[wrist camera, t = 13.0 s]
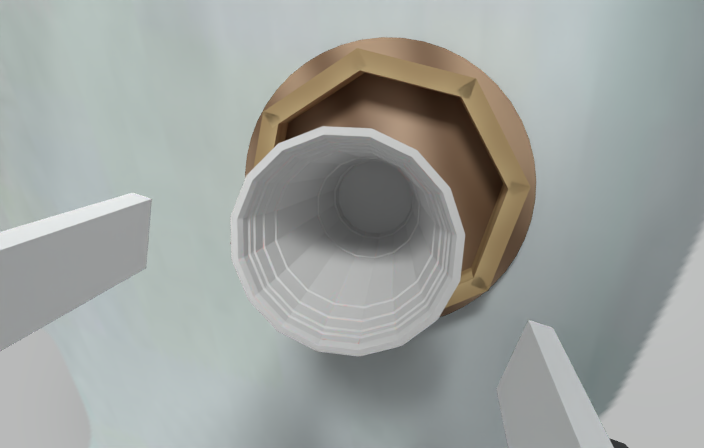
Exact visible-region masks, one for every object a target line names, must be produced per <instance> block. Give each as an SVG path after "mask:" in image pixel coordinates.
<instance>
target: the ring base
mask: <svg viewBox="0 0 704 448" xmlns="http://www.w3.org/2000/svg"><path fill="white" fill-rule="evenodd" d="M322 126H328V127H351V128H372V129H374V130H376V131H378V132H380V133H382V134H385V135H387V136H389V137H391V138H393V139H395V140H397V141H399V142H401V143H403V144H405V145H407V146H409V147H412V148H414V149H416V150H418V152H419V153H420V154H421V155H422V156H423V157H424V158H425V160H426V161H427V162H428V163H429V164H430V165H431V166H432V168H433V169H434V170H435V171H436V172H437V173H438V174H439V176H440V177H441V178H442V179H443V180H444V181H445V182H446V184H447V185H448V186H449V187H450V188H451V191H452V195H453V198H454V201H455V204H456V207H457V210H458V213H459V217H460V220H461V223H462V226H463V229H464V232H465V242H464V251H463V260H462V269H461V278H460V282H459V284H458V286H457V287H456V289H455V291H454V293H453V294H452V296H451V298H450V299H449V301H448V303H447V305H446V306H445V308H444V310H443V311H442V313H441V315H440V317H441V316H444V315H447V314H450V313H452V312H454V311H456V310H458V309H460V308H462V307H464V306H466V305H467V304H469V303H470V302H472V301H473V300H475V299H476V298H478V297H479V296H481V295H482V294H483V293H484V292H486V291H488V290H489V288H490V287H491V286H492V285H493V284H494V283H495V282H496V281H497V280H498V279H499V278H500V277H501V276H502V275H503V273H504V272H505V271H506V270H507V268H508V267H509V265H510V264H511V263H512V261H513V260H514V258H515V257H516V255H517V253H518V251H519V249H520V247H521V245H522V243H523V241H524V239H525V237H526V234H527V231H528V228H529V225H530V222H531V219H532V214H533V209H534V203H535V192H536V174H535V164H534V157H533V153H532V149H531V145H530V141H529V138H528V135H527V133H526V130H525V128H524V125H523V123H522V120H521V119H520V117H519V115H518V113H517V112H516V110H515V108H514V107H513V105H512V103H511V102H510V100H509V99H508V98H507V97H506V95H505V94H504V93H503V92H502V90H501V89H500V88H499V87H498V85H497V84H496V83H495V82H494V81H492V80H491V79H490V78H489V77H488V76H487V75H486V74H485V73H484V72H483V71H482V70H480V69H479V68H478V67H476V66H475V65H473V64H472V63H470V62H469V61H467V60H466V59H465V58H463V57H461V56H459V55H457V54H455V53H453V52H451V51H449V50H447V49H445V48H442V47H439V46H436V45H433V44H430V43H427V42H423V41H417V40H411V39H406V38H383V37H382V38H373V39H364V40H359V41H355V42H351V43H347V44H344V45H340V46H338V47H336V48H333V49H331V50H328V51H326V52H324V53H322V54H320V55H318V56H317V57H315V58H313V59H312V60H310V61H308V62H307V63H305V64H304V65H303V66H301V67H300V68H299V69H298V70H296V71H295V72H294V73H293V74H291V75H290V76H289V77H288V78H287V79H286V81H285V82H284V83H283V84H282V85H281V86H280V87H279V88H278V89H277V90H276V92H275V93H274V94H273V96H272V97H271V99H270V100H269V101H268V103H267V104H266V106H265V108H264V110H263V112H262V114H261V115H260V117H259V119H258V121H257V124H256V126H255V129H254V132H253V134H252V137H251V141H250V145H249V149H248V154H247V161H246V171H245V178H246V175H247V174H248V173H249V172H250V171H251V170H252V169H253V168H254V167H255V166H256V165H257V164H258V163H259V162H260V161H261V160H262V159H263V158H264V157H265V156H266V155H267V154H268V153H269V152H270V151H271V150H272V149H273V148H274V147H275V146H276V145H277V144H278V143H281V142H283V141H286V140H288V139H291V138H294V137H296V136H299V135H301V134H304V133H306V132H309V131H312V130H314V129H317V128H319V127H322Z"/></svg>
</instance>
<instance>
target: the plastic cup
mask: <svg viewBox="0 0 704 448" xmlns="http://www.w3.org/2000/svg"><path fill="white" fill-rule="evenodd" d="M230 222H231V260H232V263H233V265H234V267H235V270H236V272H237V274H238V277H239V279H240V282H241V284H242V286H243V289H244V291H245V293H246V296H247V298H248V300H249V301H250V302H251V303H252V305H253V306H254V307H255V308H256V309H257V310H258V311H259V312H260V313H261V314H262V315H263V316H264V317H265V318H266V319H267V321H268V322H269V323H270V324H271V325H272V326H273V327H274V328H275V329H276V330H277V331H278V332H280V333H282V334H283V335H285V336H287V337H289V338H291V339H293V340H295V341H297V342H299V343H301V344H303V345H305V346H307V347H309V348H311V349H313V350H315V351H318V352H326V353H334V354H343V355H351V356H359V357H360V356H364V355H368V354H372V353H376V352H380V351H384V350H388V349H392V348H396V347H400V346H403V345H404V344H405V343H407V342H408V341H410V340H411V339H412V338H414V337H415V336H416V335H418V334H419V333H420V332H422V331H423V330H425V329H426V328H427V327H429V326H430V325H431V324H433V323H434V322H435V321H437V320H438V318H439V317H440V315H441V313H442V311H443V310H444V308H445V306H446V305H447V303H448V301H449V299H450V298H451V296H452V294H453V293H454V291H455V289H456V287H457V286H458V284H459V282H460V278H461V269H462V260H463V251H464V242H465V232H464V229H463V226H462V223H461V220H460V217H459V213H458V210H457V207H456V204H455V201H454V198H453V195H452V191H451V188H450V187H449V186H448V185H447V184H446V182H445V181H444V180H443V179H442V178H441V177H440V176H439V174H438V173H437V172H436V171H435V170H434V169H433V168H432V166H431V165H430V164H429V163H428V162H427V161H426V160H425V158H424V157H423V156H422V155H421V154H420V153H419V152H418V150H416V149H414V148H412V147H409V146H407V145H405V144H403V143H401V142H399V141H397V140H395V139H393V138H391V137H389V136H387V135H385V134H382V133H380V132H378V131H376V130H374V129H372V128H351V127H328V126H322V127H319V128H317V129H314V130H312V131H309V132H306V133H304V134H301V135H299V136H296V137H294V138H291V139H288V140H286V141H283V142H281V143H278V144H277V145H276V146H275V147H274V148H273V149H272V150H271V151H270V152H269V153H268V154H267V155H266V156H265V157H264V158H263V159H262V160H261V161H260V162H259V163H258V164H257V165H256V166H255V167H254V168H253V169H252V170H251V171H250V172H249V173H248V174H247V175H246V178H245V180H244V183H243V185H242V188H241V191H240V193H239V196H238V198H237V201H236V204H235V206H234V209H233V211H232V214H231V216H230Z"/></svg>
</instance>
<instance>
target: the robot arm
mask: <svg viewBox="0 0 704 448" xmlns="http://www.w3.org/2000/svg"><path fill="white" fill-rule="evenodd" d="M151 201H152V199H150V198H147V197H144V196H141V195H138V194H135V193H129V194H126V195H123V196H119V197H116V198H113V199H109V200H106V201H103V202H99V203H96V204H92V205H89V206H86V207H82V208H79V209H76V210H72V211H69V212H66V213H62V214H59V215H55V216H52V217H49V218H45V219H42V220H39V221H35V222H32V223H28V224H25V225H22V226H18V227H15V228H12V229H8V230H5V231H2V232H0V351H2V350H3V349H5V348H7V347H9V346H10V345H12V344H14V343H16V342H17V341H19V340H21V339H22V338H24V337H26V336H28V335H30V334H31V333H33V332H35V331H37V330H38V329H40V328H42V327H44V326H45V325H47V324H49V323H51V322H52V321H54V320H56V319H58V318H59V317H61V316H63V315H65V314H66V313H68V312H70V311H72V310H74V309H75V308H77V307H79V306H81V305H82V304H84V303H86V302H88V301H89V300H91V299H93V298H95V297H96V296H98V295H100V294H102V293H103V292H105V291H107V290H109V289H110V288H112V287H114V286H116V285H117V284H119V283H121V282H123V281H124V280H126V279H128V278H130V277H131V276H133V275H135V274H137V273H138V272H140V271H142V270H144V269H146V264H147V251H148V239H149V226H150V214H151ZM496 390H497V395H498V400H499V405H500V410H501V415H502V420H503V425H504V430H505V435H506V440H507V445H508V448H628V447H627V446H626V445H625V444H624V443H621V442H618V441H615V440H612V439H609V437H608V435H607V433H606V431H605V429H604V427H603V425H602V423H601V421H600V419H599V417H598V415H597V413H596V411H595V409H594V407H593V405H592V403H591V401H590V399H589V397H588V396H587V394H586V392H585V390H584V388H583V386H582V384H581V382H580V380H579V378H578V376H577V374H576V372H575V370H574V368H573V366H572V364H571V362H570V360H569V358H568V356H567V354H566V352H565V350H564V348H563V346H562V344H561V342H560V340H559V338H558V336H557V334H556V332H555V330H554V328H553V327H549V326H546V325H543V324H540V323H537V322H534V321H531V320H528V321H527V323H526V326H525V328H524V330H523V332H522V334H521V336H520V339H519V341H518V343H517V345H516V347H515V349H514V351H513V354H512V356H511V358H510V360H509V362H508V364H507V366H506V369H505V371H504V373H503V375H502V377H501V379H500V381H499V384H498V386H497V388H496Z"/></svg>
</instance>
